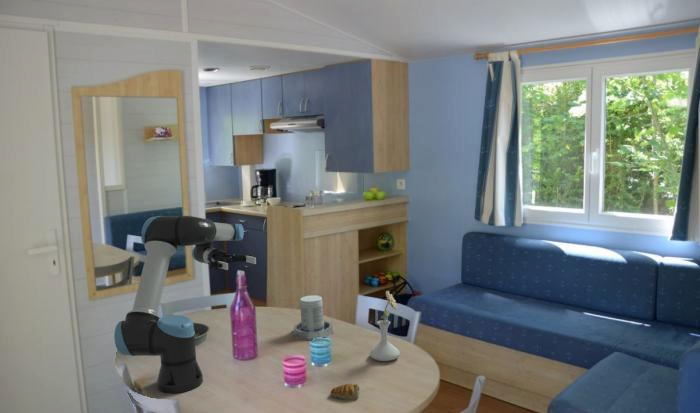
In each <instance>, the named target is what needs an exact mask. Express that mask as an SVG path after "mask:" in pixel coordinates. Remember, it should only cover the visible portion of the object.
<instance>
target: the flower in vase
mask: <svg viewBox="0 0 700 413" xmlns="http://www.w3.org/2000/svg"><path fill="white" fill-rule="evenodd" d="M385 297H386V300H387V302H386V303H387V304H386V305H385V308H384V313H383V314H382V316H380V319H382V320H378V321H376V323H377V325H378V327H379V328H380V335H381V336H380V342H379V343H377V344H376V345H375V346H374V347H373V348H371V349H370V351H369V356H370V358H372V359H374V360H376V361H380V362H388V361H394V360H396V359H397V358H399V357H400V355H401V352H400V350H399V349H398V348H397V347H396V346H394V344H392V343H391V342H390V341H389V340H388V330H389V329H388V328H389V326H390V324H391V321H390V320H386V319H385V318H387V317H389V316H390V312H389V310H388V309H387V308H388V306H390V307H391V308H392V309H393V310H395V311H397V310H398V305H397V303H396V302H397V301H396V299H395V298H394V297H393V294H392V293H391V294H390V290H386V291H385Z"/></svg>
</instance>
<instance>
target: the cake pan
mask: <svg viewBox="0 0 700 413" xmlns="http://www.w3.org/2000/svg"><path fill="white" fill-rule="evenodd" d="M193 326H194V331H195V334H197V335H198V336H195V347H197V346H199V345H200V346H201V344H203V343H205V341H206V340H207V336H208V333H209V332H210V330H211V328H210V325H209V326H208V325H207V324H205V323H200V322H193Z"/></svg>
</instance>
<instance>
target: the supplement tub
mask: <svg viewBox="0 0 700 413" xmlns="http://www.w3.org/2000/svg"><path fill="white" fill-rule="evenodd" d="M299 300H300V301H299V305H300V306H299V307H300V308H299V309H300V320H301V321H300V322H301V323H302V331H306V332H315V331H321V330H324V321H325V320H324V307H323V306H324V303H323V298H322V296H321V295H316V294H315V295H306V296H302V297H301V298H300V299H299Z"/></svg>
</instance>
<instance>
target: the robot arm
mask: <svg viewBox="0 0 700 413" xmlns="http://www.w3.org/2000/svg"><path fill="white" fill-rule="evenodd" d="M244 232H245V230H244V227H243V225H242V224H241V223H225V222H224V223H223V222H214V221H213V220H211V219H208V218H202V217H197V216H192V215H174V216H173V215H171V216H169V215H168V216H163V215H157V216H152V217H149V218H147V219H146V221H145V222H144V223H143V226H142V228H141V232H140V233H141V237H140V238H141V243H142V244H143V245H144V249H145V250H146V256H145V259H144V263H143V267H142V271H141V274H140V279H139V282H138V286H137V291H136V293H135V294H136V295H135V299H134V302H133V306H132V309H131V310H130V311H128V312H127V313H126V316H125V319H124V320H120V321H119V322H118V323H117V324H116V325H115V329H114V337H113V338H114V344H115V347H116V349H117V351H118V352H119V353H120V354H121V355H123V356H130V357H136V356H138V357H139V356H153V357H154V356H158V357H160V368H159V372H158V377H157V380H156V386H157V390H158V391H160V392H162V393H166V394H178V393H180V394H181V393H184V392H188V391H189V392H190V391H191V390H194V389H196V388H198V387H200V386H201V385H202V383H203V382H204V378H203V372H202V369H201V367H200V365H199V363H198V361H197V354H196V353H197V352H196V351H197V350H196V346H195V337H196V336H195V335H196V333H195V331H194V326H193V323H194V322H193V320H192V319H191V318H190V317H187V316H185V315H180V314H171V315H164V316H161V317H160V316H159V314H158V313H159V308H160V305H161V299H162V296H163V292H164V286H165V283H166V278H167V273H168V271H169V265H170V262H171V261H170V260H171V258H172V256H173V255H175V254H177V250H178V247H189V246H194V247H192V248H193V249H192V252H191V257H192V259H194V261H196V262H199V263H201V264H207V265H209V268H210V269H214V270H217V271H218V270H219V269H222V270H226V271H228V270H229V264H231V263H232V264H233V263H234V262H245V263H249V264H252V265H256V264H257V258H256V256H255V257H254V256H253V255H252V254H251V253H250V254H249V253H246V254H244V253H232V254H231V253H229V254H228V253H226V251H224V249H219V248H216V247H213V242H224V241H225V242H228V241H229V242H230V241H231V242H232V241H233V242H237V241H242V240H243V238H244V235H245V233H244Z"/></svg>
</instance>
